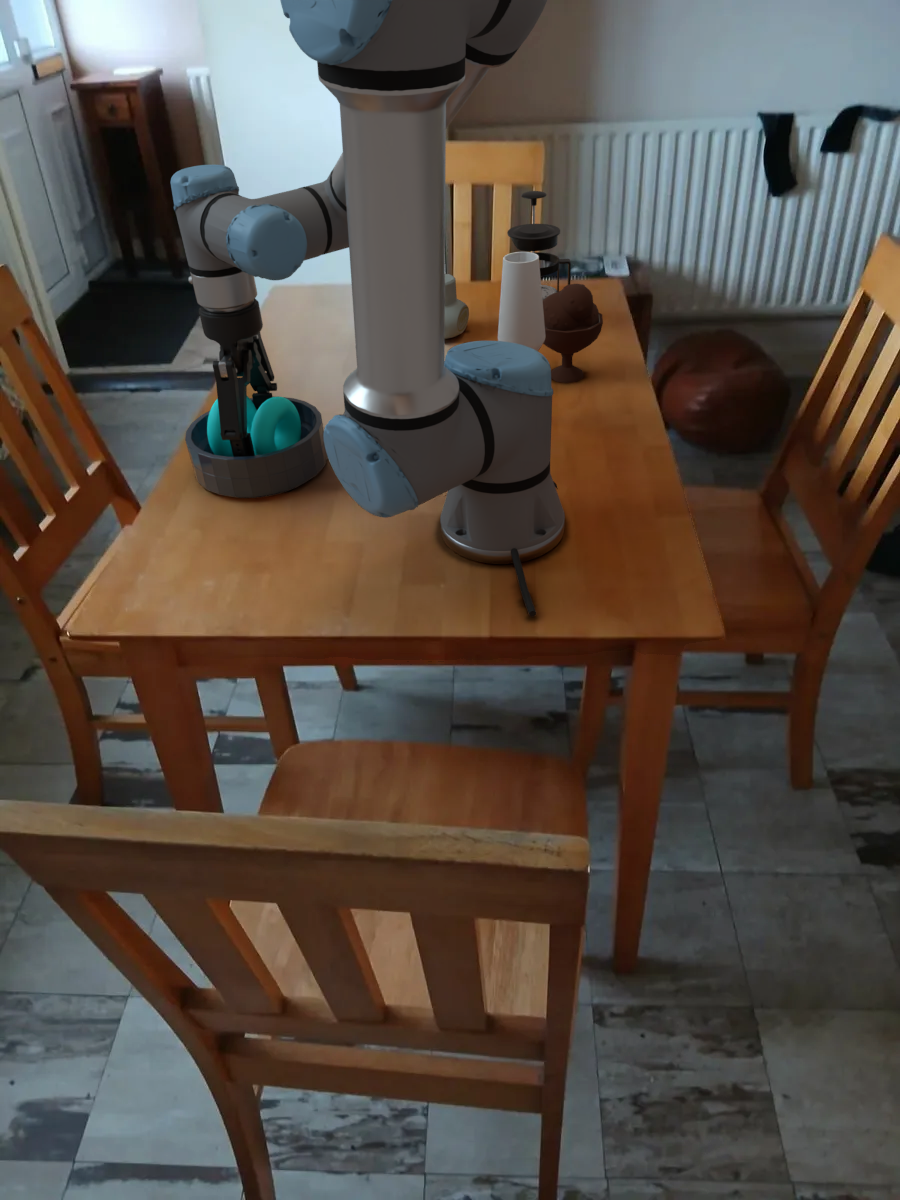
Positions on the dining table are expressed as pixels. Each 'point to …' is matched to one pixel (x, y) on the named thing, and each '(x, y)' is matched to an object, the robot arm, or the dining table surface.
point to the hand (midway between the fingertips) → (259, 455)
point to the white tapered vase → (521, 301)
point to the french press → (539, 243)
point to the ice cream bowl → (570, 327)
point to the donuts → (260, 427)
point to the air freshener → (454, 310)
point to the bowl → (259, 460)
